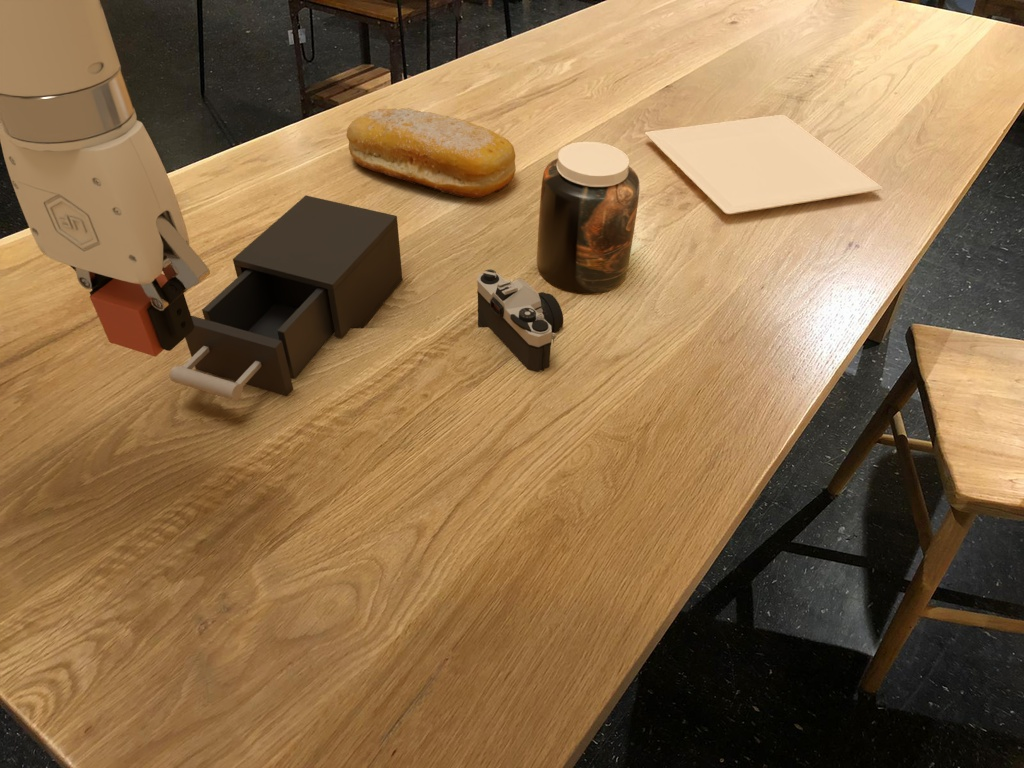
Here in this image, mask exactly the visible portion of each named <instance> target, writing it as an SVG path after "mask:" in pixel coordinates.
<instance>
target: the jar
mask: <svg viewBox="0 0 1024 768" xmlns="http://www.w3.org/2000/svg"><path fill="white" fill-rule="evenodd" d="M639 198H640V179H639V176H638V173H636V171H635V170H634V169H633V167H630V159H629V156H628V155H627V153H625V152H624V151H623V150H622V149H619V148H618V147H616V146H613V145H611V144H608V143H604V142H600V141H599V142H598V141H577V142H572V143H568V144H566V145H565V146H562V148H560V149H559V151H558V153H557V158H555V159H553V160H552V161H550V162H549V163H548V164H547V165H546V167H545V169H544V171H543V175H542V179H541V189H540V200H539V202H540V203H539V211H538V212H539V213H538V228H537V244H536V245H537V247H536V248H537V249H536V267H537V270H538V273H539V275H541V277H542V278H543V279H544V280H545V281H546V282H548V283H549V284H550V285H552V286H553V287H556V288H559V289H560V290H564V291H566V292H569V293H575V294H581V295H594V294H595V295H597V294H602V293H606V292H610V291H612V290H614V289H616V288H618V287H619V286H620V285H622V284H623V282H624V281H625V280H626V278H627V275H628V270H629V265H630V259H631V253H632V246H633V241H634V234H635V226H636V222H637V215H638V214H637V212H638V206H639Z"/></svg>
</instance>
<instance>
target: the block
mask: <svg viewBox="0 0 1024 768" xmlns="http://www.w3.org/2000/svg"><path fill="white" fill-rule="evenodd" d="M156 280H157V282H158V284H159V285H160V287H162V286H163V285H164V284H165V283H166V282H167V281H168V280H167V278H166V276H165V275H164V273H161V275H159V276H158V277H157V278H156ZM89 298H90V300H91V304H92V305H93V308H94V310H95V312H96V314H97V317H98V320H99V321H100V324H101V326H102V329H103V331H104V334H105V335H106V338H107V340H108V342H109V343H110V344H113V345H116V346H120V347H123V348H126V349H129V350H133V351H136V352H139V353H142V354H146V355H149V356H152V357H158V355H160V354H161V353H162V352H163V351H165V350H164V349H162V348H161V346H160V343H159V341H158V338H157V335H156V333H155V330H154V327H153V325H152V322H151V319H150V317H149V314H148V311H147V309H148V308H149V307H150V306H152V304H151V303H150V301H149V299H148V297H147V296H146V294H145V292H144V290H143V289H142V287H141V285H140V284H135V283H130V282H126V281H122V280H119V279H115V278H114V279H113V280H111V281H110V282H109V283H107V284H106V285H105V286H103V287H102V288H101V289H99V290H98V291H97V292H95V293H94V294H93V295H90V296H89Z"/></svg>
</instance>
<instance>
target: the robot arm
mask: <svg viewBox="0 0 1024 768" xmlns="http://www.w3.org/2000/svg"><path fill="white" fill-rule="evenodd" d="M137 118H138V117H137V113H136V110H135V107H134V103H133V100H132V96H131V93H130V91H129V87H128V84H127V81H126V77H125V75H124V71H123V69H122V65H121V63H120V60H119V57H118V53H117V49H116V47H115V44H114V40H113V37H112V35H111V31H110V28H109V25H108V21H107V18H106V14H105V12H104V8H103V6H102V3H101V0H0V146H1V151H2V154H3V155H2V156H3V158H4V162H5V165H6V166H5V167H6V169H7V173H8V176H9V179H10V181H11V185H12V187H13V190H14V192H15V196H16V198H17V200H18V204H19V206H20V209H21V211H22V213H23V216H24V218H25V221H26V223H27V226H28V228H29V229H30V232H31V234H32V237H33V239H34V241H35V243H36V245H37V247H38V249H39V250H40V252H41V253H42V254H43V255H45V256H46V257H47V258H49V259H51V260H53V261H55V262H57V263H61V264H64V265H67V266H69V267H71V268H72V269H73V270H74V271H75V272H76V279H77V281H78V283H79V285H81V287H83V288H84V289H86V290H89V295H90V296H91V295H93V294H94V293H95V292H97V291H98V290H99V289H101V288H102V287H103V286H105V285H106V284H107V283H109V282H110V281H111V280H113V279H114V278H115V279H119V280H122V281H126V282H130V283H135V284H140V285H141V287H142V289H143V290H144V292H145V294H146V296H147V297H148V299H149V301H150V303H151V304H152V306H150V307H149V308H148V309H147V311H148V314H149V317H150V319H151V322H152V325H153V327H154V330H155V333H156V335H157V338H158V341H159V343H160V346H161V348H162V349H164V350H163V351H168V352H171V351H172V350H173V349H174V348H176V346H178V345H179V344H180V343H181V342H182V341H183V340H185V337H186V336H187V335H188V334H190V333H191V332H192V331H193V329H194V324H193V320H192V317H191V316H192V315H191V312H190V309H189V306H188V303H187V300H186V296H185V293H186V292H187V291H188V290H190V289H192V288H193V287H196V286H197V285H198V284H200V283H201V282H202V281H203V280H205V279H206V278H207V277H208V276H209V275H210V274H211V271H210V268H209V267H208V266H207V265H206V263H205V262H204V261H203V259H202V258H201V257H200V256H199V255H198V254H197V253H196V251H195V250H194V249H193V248H192V247H191V245H190V238H189V234H188V230H187V226H186V222H185V219H184V216H183V212H182V211H181V207H180V204H179V201H178V198H177V196H176V193H175V191H174V188H173V185H172V183H171V180H170V178H169V175H168V173H167V171H166V168H165V166H164V164H163V162H162V159H161V157H160V155H159V152H158V151H157V149H156V147H155V145H154V142H153V141H152V139H151V137H150V135H149V133H148V131H147V129H146V127H145V125H144V124H143V122H142V121H140V120H138V119H137ZM161 274H164V275H165V276H166V278H167V280H168V281H167V282H166V283H165V284H164V285H163V286H162V287H160V285H159V284H158V282H157V280H156V278H157V277H158V276H159V275H161ZM90 290H91V291H90Z"/></svg>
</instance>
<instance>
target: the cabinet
mask: <svg viewBox="0 0 1024 768" xmlns="http://www.w3.org/2000/svg"><path fill="white" fill-rule="evenodd" d="M398 223H399V222H398V215H394V214H391V213H387V212H386V213H385V212H382V211H376V210H372V209H368V208H364V207H359V206H355V205H350V204H346V203H342V202H337V201H333V200H329V199H324V198H319V197H315V196H311V195H304V196H303V197H302V198H300V200H298V202H296V203H295V204H293V205H292V207H290V208H289V209H288V210H287V211H286V212H285V213H283V214H282V215H281V216H280V217H279V218H278V219H277V220H275V222H272V224H271V225H270V226H269V227H267V228H266V229H265V230H264V231H262V233H261V234H259V235H258V236H257V237H256V238H255V239H253V241H251V242H250V243H249V244H248V245H247V246H246V247H244V248H243V249H242V250H241V251H240V252H239V253H238V254H237V255H235V256H234V257H232V262H233V265H234V270H235V274H236V278H237V277H239V276H240V275H241V274H242V273H243V272H244V271H245V270H246V269H247V268H248V269H252V270H256V271H259V272H263V273H267V274H271V275H275V276H279V277H283V278H287V279H291V280H294V281H298V282H302V283H306V284H310V285H314V286H318V287H322V288H326V289H327V290H328V296H329V302H330V308H331V313H332V319H333V325H334V331H335V333H334V337H335V339H340V340H343V338H344V337H346V335H347V334H348V333H349V332H350V331H351V330H352V329H364V328H365V327H366V325H368V323H369V322H370V320H371V319H372V318H373V317H374V316H375V315H376V314H377V312H378V311H379V309H381V307H382V306H383V305H384V303H386V301H387V300H388V299H389V297H390V296H391V295H392V294H393V293H394V292H395V290H396V289H397V288H398V287H399V285H400V284H401V283H402V282H403V269H402V258H401V248H400V247H401V246H400V245H401V244H400V234H399V224H398Z"/></svg>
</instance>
